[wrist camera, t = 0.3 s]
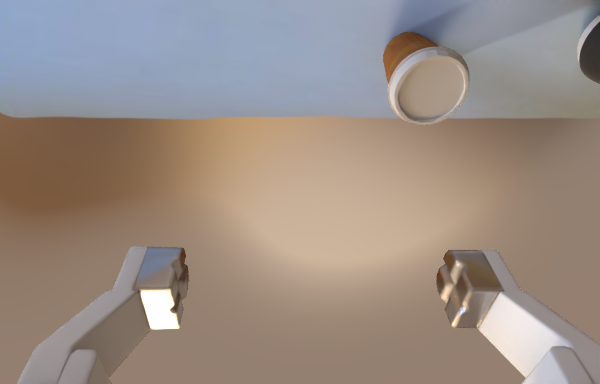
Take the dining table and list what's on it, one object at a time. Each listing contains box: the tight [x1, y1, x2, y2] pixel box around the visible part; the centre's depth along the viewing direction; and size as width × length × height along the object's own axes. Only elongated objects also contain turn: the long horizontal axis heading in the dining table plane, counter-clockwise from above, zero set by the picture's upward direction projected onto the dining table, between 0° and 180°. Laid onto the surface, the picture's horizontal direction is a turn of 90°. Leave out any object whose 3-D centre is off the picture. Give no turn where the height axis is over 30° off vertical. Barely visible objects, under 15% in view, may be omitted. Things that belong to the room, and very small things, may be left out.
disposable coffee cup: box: [383, 32, 469, 125], centre depth 51 cm, size 10×10×12 cm
